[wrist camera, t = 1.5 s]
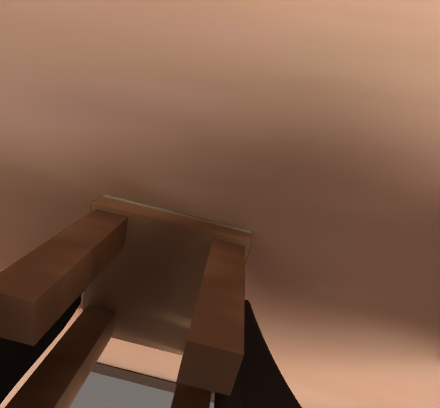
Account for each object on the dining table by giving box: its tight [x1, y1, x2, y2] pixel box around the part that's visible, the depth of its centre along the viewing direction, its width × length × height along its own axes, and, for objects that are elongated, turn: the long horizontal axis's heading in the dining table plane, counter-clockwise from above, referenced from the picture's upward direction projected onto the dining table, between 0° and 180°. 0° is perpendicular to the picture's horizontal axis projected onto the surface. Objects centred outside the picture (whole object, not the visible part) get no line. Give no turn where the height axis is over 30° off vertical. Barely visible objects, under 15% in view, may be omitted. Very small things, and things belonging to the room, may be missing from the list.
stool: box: [0, 194, 252, 408], centre depth 9 cm, size 6×6×6 cm
